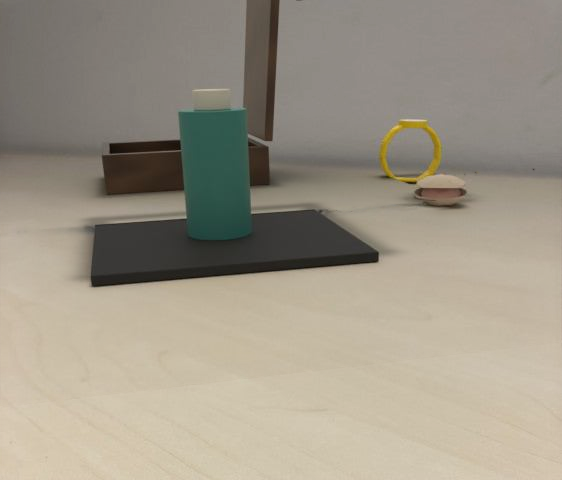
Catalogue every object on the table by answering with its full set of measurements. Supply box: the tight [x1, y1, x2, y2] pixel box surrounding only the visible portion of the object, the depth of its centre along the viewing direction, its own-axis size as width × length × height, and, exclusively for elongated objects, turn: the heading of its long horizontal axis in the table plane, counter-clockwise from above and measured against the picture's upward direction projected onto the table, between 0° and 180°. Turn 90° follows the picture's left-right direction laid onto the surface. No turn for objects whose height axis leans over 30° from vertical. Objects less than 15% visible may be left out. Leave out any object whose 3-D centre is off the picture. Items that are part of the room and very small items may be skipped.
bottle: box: [177, 88, 252, 241], centre depth 47 cm, size 4×4×9 cm
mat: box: [90, 208, 380, 287], centre depth 49 cm, size 17×17×1 cm
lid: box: [242, 0, 303, 142], centre depth 69 cm, size 16×12×6 cm
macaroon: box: [414, 173, 468, 207], centre depth 59 cm, size 4×5×2 cm
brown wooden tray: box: [101, 136, 271, 196], centre depth 71 cm, size 15×12×4 cm
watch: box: [378, 118, 442, 183], centre depth 70 cm, size 6×3×6 cm, turn 97°
